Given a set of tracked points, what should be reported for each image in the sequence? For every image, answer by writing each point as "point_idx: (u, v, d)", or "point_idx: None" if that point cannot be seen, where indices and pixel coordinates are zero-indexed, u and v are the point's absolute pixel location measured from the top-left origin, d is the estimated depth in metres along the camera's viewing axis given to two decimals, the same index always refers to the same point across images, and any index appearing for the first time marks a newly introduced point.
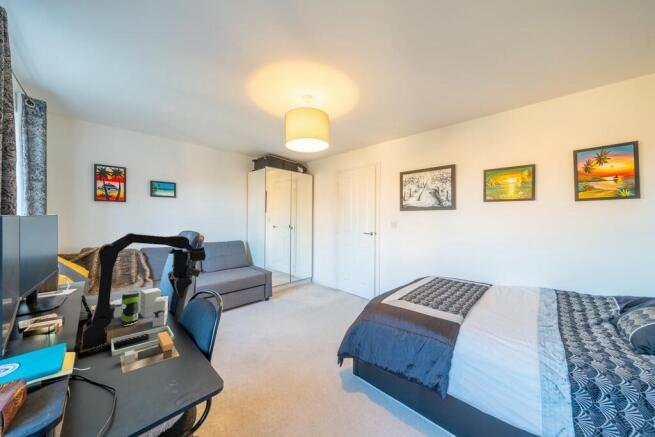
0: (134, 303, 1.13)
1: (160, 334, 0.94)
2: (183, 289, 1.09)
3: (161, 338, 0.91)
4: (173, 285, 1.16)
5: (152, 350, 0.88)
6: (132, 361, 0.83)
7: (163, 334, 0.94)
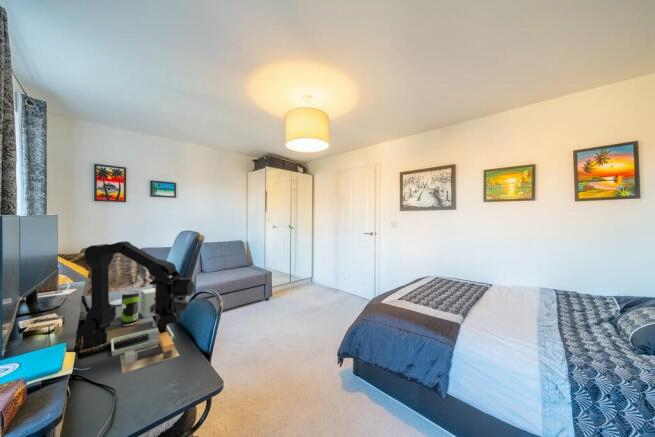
0: (134, 303, 1.13)
1: (160, 334, 0.93)
2: None
3: (161, 339, 0.90)
4: None
5: (152, 350, 0.88)
6: (132, 361, 0.83)
7: (163, 335, 0.93)
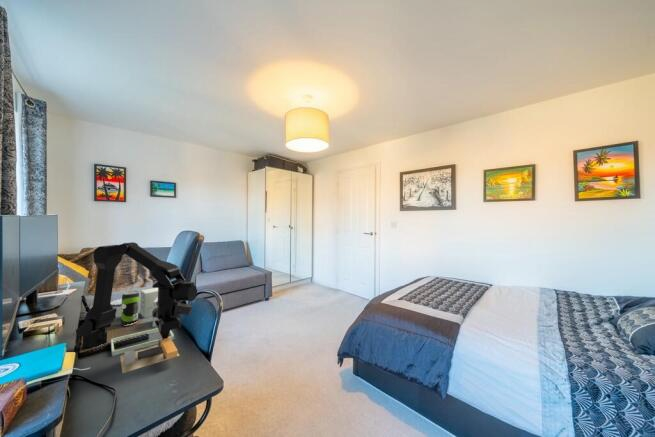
0: (134, 303, 1.13)
1: (163, 340, 0.89)
2: (167, 329, 0.91)
3: (164, 345, 0.86)
4: None
5: (152, 350, 0.88)
6: (132, 361, 0.83)
7: (166, 341, 0.89)
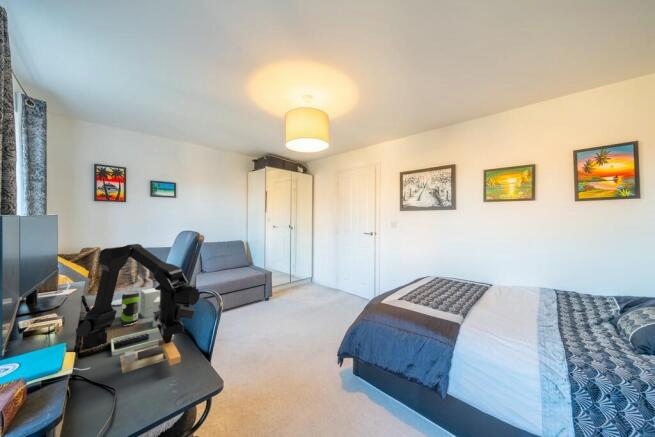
0: (134, 303, 1.13)
1: (166, 345, 0.86)
2: None
3: (167, 350, 0.83)
4: None
5: (152, 350, 0.88)
6: (132, 361, 0.83)
7: (169, 346, 0.86)
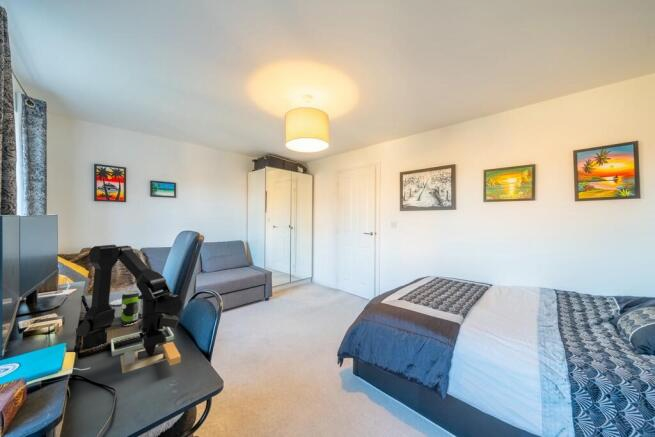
0: (134, 303, 1.13)
1: (166, 345, 0.86)
2: (153, 344, 0.87)
3: (167, 350, 0.83)
4: None
5: None
6: (132, 361, 0.83)
7: (169, 346, 0.86)
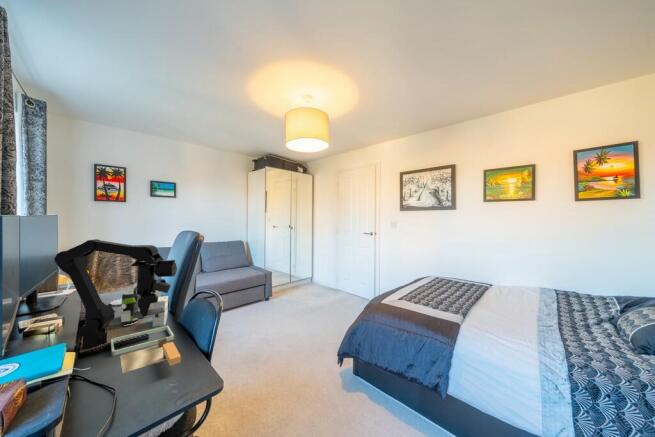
0: (134, 303, 1.13)
1: (166, 345, 0.86)
2: (146, 306, 0.96)
3: (167, 350, 0.83)
4: None
5: None
6: (128, 319, 0.93)
7: (169, 346, 0.86)
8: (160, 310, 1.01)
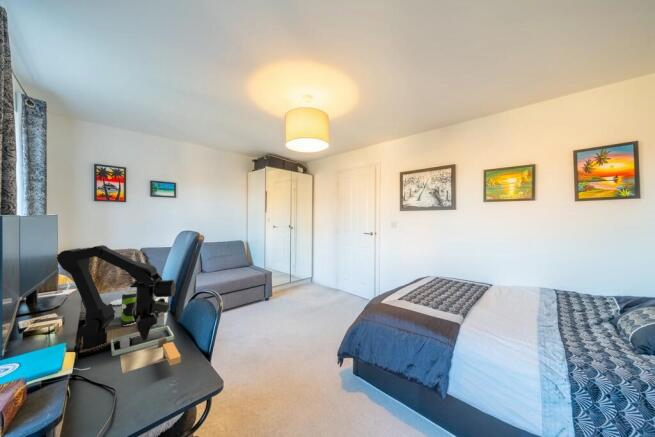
0: (134, 303, 1.13)
1: (166, 345, 0.86)
2: (147, 329, 0.94)
3: (167, 350, 0.83)
4: None
5: None
6: (127, 346, 0.93)
7: (169, 346, 0.86)
8: (159, 335, 1.01)
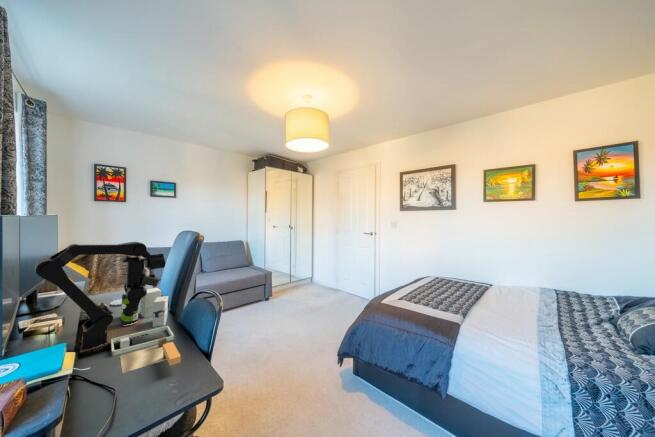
0: None
1: (166, 345, 0.86)
2: (137, 301, 1.00)
3: (167, 350, 0.83)
4: None
5: (145, 337, 0.98)
6: (127, 346, 0.93)
7: (169, 346, 0.86)
8: (159, 335, 1.01)
